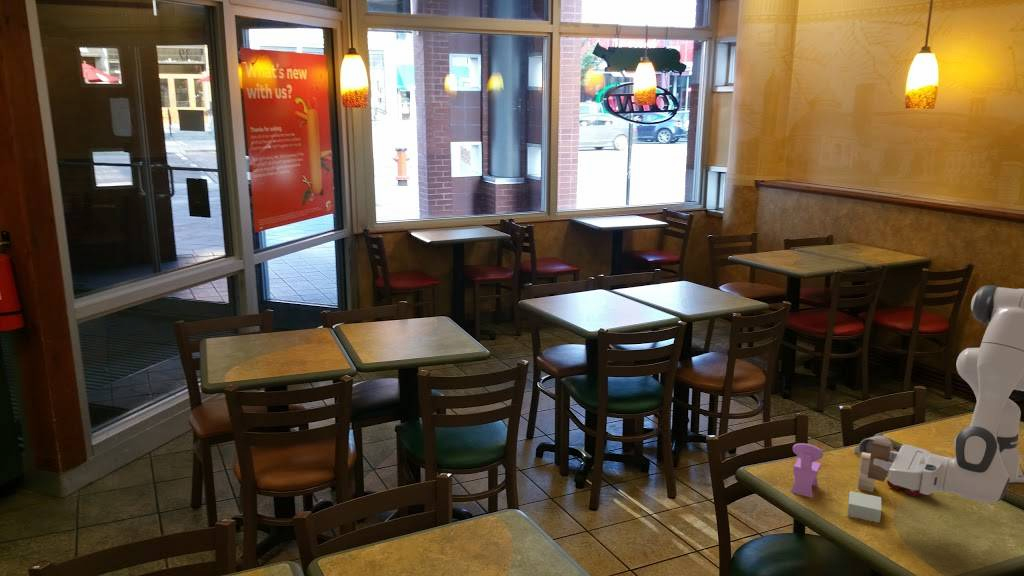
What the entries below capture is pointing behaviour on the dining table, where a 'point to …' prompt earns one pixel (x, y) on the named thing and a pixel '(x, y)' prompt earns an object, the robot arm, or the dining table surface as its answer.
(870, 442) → the ceramic mug
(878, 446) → the walnut block
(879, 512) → the pedestal block
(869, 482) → the maple block
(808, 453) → the toy chair
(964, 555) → the dining table surface
